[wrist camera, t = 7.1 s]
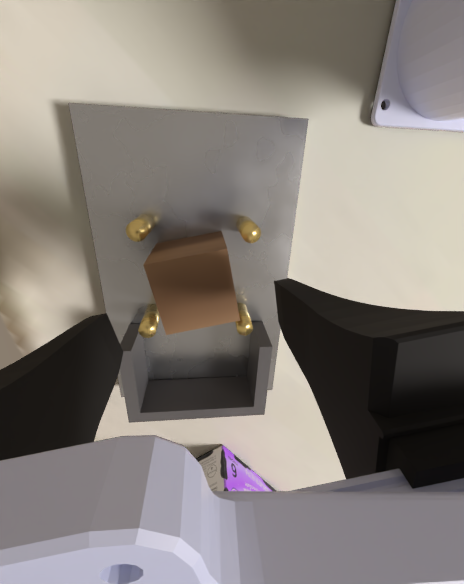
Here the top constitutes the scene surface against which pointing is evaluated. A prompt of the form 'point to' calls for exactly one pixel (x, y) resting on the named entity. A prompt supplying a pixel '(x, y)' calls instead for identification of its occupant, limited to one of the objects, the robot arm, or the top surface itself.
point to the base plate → (190, 219)
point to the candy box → (230, 472)
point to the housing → (194, 385)
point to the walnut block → (192, 283)
